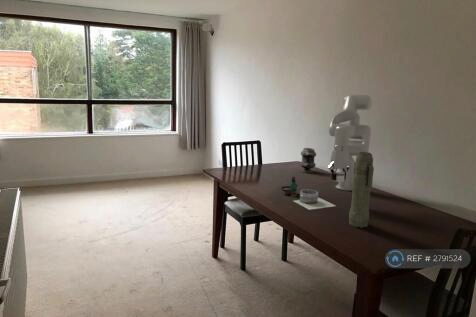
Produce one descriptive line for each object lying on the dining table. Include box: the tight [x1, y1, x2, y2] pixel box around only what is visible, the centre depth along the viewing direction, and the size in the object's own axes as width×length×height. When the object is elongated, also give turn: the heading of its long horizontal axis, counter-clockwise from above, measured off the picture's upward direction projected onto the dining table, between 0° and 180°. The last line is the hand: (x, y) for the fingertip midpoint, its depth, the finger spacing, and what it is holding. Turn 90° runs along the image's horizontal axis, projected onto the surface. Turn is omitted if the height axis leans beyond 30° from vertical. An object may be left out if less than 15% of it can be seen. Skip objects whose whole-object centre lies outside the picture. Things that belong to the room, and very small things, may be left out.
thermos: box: [348, 151, 375, 229], centre depth 168 cm, size 9×12×35 cm
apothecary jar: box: [299, 147, 317, 174], centre depth 276 cm, size 12×12×18 cm
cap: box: [332, 170, 345, 183], centre depth 201 cm, size 6×6×5 cm
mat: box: [293, 197, 336, 211], centre depth 200 cm, size 18×16×1 cm
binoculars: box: [280, 176, 299, 197], centre depth 216 cm, size 9×10×10 cm
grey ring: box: [299, 188, 319, 204], centre depth 203 cm, size 10×10×6 cm
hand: (338, 179), depth 202 cm, fingers closed on cap, 6 cm apart
